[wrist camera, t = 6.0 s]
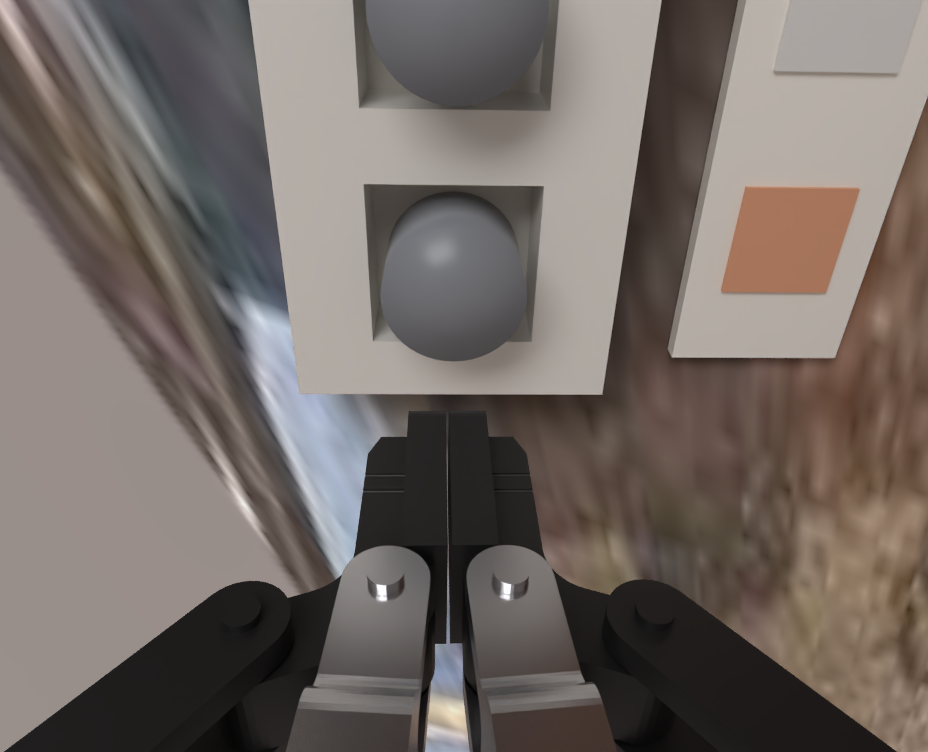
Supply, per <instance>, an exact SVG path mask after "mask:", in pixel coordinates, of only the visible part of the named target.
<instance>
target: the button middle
mask: <svg viewBox="0 0 928 752" xmlns="http://www.w3.org/2000/svg"><path fill="white" fill-rule="evenodd" d="M548 14H549V0H366V16H367V24H368V28H369V32H370V36H371V39H372V42H373V45H374V47H375V49H376V51H377V54H378V56H379V58H380V59H381V61H382V62H383V64H384V66H385V67H386V69H387V70H388V71H389V72H390V73H391V75H392V76H393V77H394V78H395V79H396V80H397V81H398V82H399V83H400V84H401V85H402V86H403V87H405V88H406V89H407V90H409V91H410V92H412V93H413V94H415V95H417V96H419V97H421V98H422V99H425V100H427V101H430V102H433V103H436V104H441V105H445V106H469V105H475V104H479V103H482V102H485V101H488V100H491V99H493V98H495V97H497V96H499V95H500V94H502V93H503V92H505V91H506V90H508V89H509V88H510V87H512V86H513V85H514V84H515V83H516V82H517V81H518V80H519V79H520V78H521V77H522V76H523V75H524V74H525V72H526V71H527V70H528V68H529V67H530V65H531V64H532V63H533V61H534V59H535V57H536V55H537V53H538V51H539V49H540V47H541V44H542V41H543V39H544V35H545V31H546V27H547V22H548Z"/></svg>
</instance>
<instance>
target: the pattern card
mask: <svg viewBox="0 0 928 752" xmlns="http://www.w3.org/2000/svg"><path fill="white" fill-rule="evenodd" d="M927 96H928V0H738V4H737V9H736V14H735V19H734V24H733V29H732V34H731V39H730V43H729V48H728V53H727V58H726V63H725V68H724V73H723V78H722V83H721V88H720V93H719V98H718V103H717V108H716V113H715V117H714V122H713V127H712V132H711V137H710V142H709V147H708V152H707V157H706V162H705V167H704V172H703V177H702V182H701V187H700V191H699V196H698V201H697V206H696V211H695V216H694V221H693V226H692V231H691V236H690V241H689V246H688V251H687V256H686V261H685V265H684V270H683V275H682V280H681V285H680V290H679V295H678V300H677V305H676V310H675V315H674V320H673V325H672V330H671V335H670V339H669V344H668V351H669V353H670V355H671V357H681V358H835V356H836V353H837V351H838V348H839V345H840V342H841V339H842V336H843V334H844V331H845V328H846V325H847V322H848V319H849V317H850V314H851V311H852V308H853V305H854V303H855V300H856V297H857V294H858V291H859V288H860V286H861V283H862V280H863V277H864V274H865V271H866V269H867V266H868V263H869V260H870V257H871V255H872V252H873V249H874V246H875V243H876V240H877V238H878V235H879V232H880V229H881V226H882V223H883V221H884V218H885V215H886V212H887V209H888V207H889V204H890V201H891V198H892V195H893V192H894V190H895V187H896V184H897V181H898V178H899V176H900V173H901V170H902V167H903V164H904V161H905V159H906V156H907V153H908V150H909V147H910V144H911V142H912V139H913V136H914V133H915V130H916V128H917V125H918V122H919V119H920V116H921V113H922V111H923V108H924V105H925V102H926V99H927Z"/></svg>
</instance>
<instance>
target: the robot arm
mask: <svg viewBox="0 0 928 752" xmlns="http://www.w3.org/2000/svg"><path fill="white" fill-rule="evenodd" d="M365 474H366V476H365V481H364V488H363V496H362V503H361V510H360V518H359V525H358V533H357V540H356V547H355V553H354V557H353V559H352V560H351V561H350V562H349V563H348V564H347V566H346V567H345V569H344V571H343V573H342V575H341V576H340V577H339V578H337V579H336V580H335V581H333V582H332V583H330V584H329V585H327V586H324V587H322V588H320V589H317V590H314V591H311V592H308V593H304V594H301V595H297V596H293V597H290V598H287V597H286V595H285V594H284V593H283V592H282V591H281V590H280V589H279V588H277V587H276V586H274V585H272V584H269V583H266V582H260V581H246V582H240V583H235V584H232V585H229V586H227V587H225V588H223V589H221V590H219V591H217V592H216V593H214V594H213V595H211V596H210V597H209V598H207V599H206V600H205V601H203V602H202V603H201V604H199V605H198V606H197V607H195V608H194V609H193V610H191V611H190V612H189V613H187V614H186V615H185V616H183V617H182V618H181V619H179V620H178V621H177V622H175V623H174V624H173V625H172V626H170V627H169V628H167V629H166V630H165V631H164V632H162V633H161V634H160V635H158V636H157V637H156V638H154V639H153V640H152V641H150V642H149V643H148V644H146V645H145V646H144V647H142V648H141V649H140V650H138V651H137V652H136V653H134V654H133V655H132V656H130V657H129V658H128V659H126V660H125V661H124V662H122V663H121V664H120V665H118V666H117V667H116V668H114V669H113V670H112V671H111V672H109V673H108V674H106V675H105V676H104V677H103V678H101V679H100V680H99V681H97V682H96V683H95V684H93V685H92V686H91V687H89V688H88V689H87V690H85V691H84V692H83V693H81V694H80V695H79V696H77V697H76V698H75V699H73V700H72V701H71V702H69V703H68V704H67V705H65V706H64V707H63V708H61V709H60V710H59V711H58V712H56V713H55V714H53V715H52V716H51V717H49V718H48V719H47V720H46V721H44V722H43V723H42V724H40V725H39V726H38V727H36V728H35V729H34V730H32V731H31V732H30V733H28V734H27V735H26V736H24V737H23V738H22V739H20V740H19V741H18V742H16V743H15V744H14V745H12V746H11V747H10V748H8V749H7V750H6V751H4V752H425V746H426V735H427V724H428V714H429V703H430V692H431V680H432V678H433V675H434V670H435V644H446V624H447V557H448V540H449V602H450V643H462V646H463V697H464V705H465V714H466V723H467V732H468V740H469V749H470V752H896V751H895V750H894V749H892V748H891V747H890V746H888V745H887V744H886V743H884V742H883V741H882V740H880V739H879V738H878V737H876V736H875V735H873V734H872V733H871V732H869V731H868V730H867V729H865V728H864V727H863V726H861V725H860V724H859V723H857V722H856V721H855V720H853V719H852V718H850V717H849V716H848V715H846V714H845V713H844V712H842V711H841V710H840V709H838V708H837V707H836V706H834V705H833V704H832V703H830V702H829V701H828V700H826V699H825V698H823V697H822V696H821V695H819V694H818V693H817V692H815V691H814V690H813V689H811V688H810V687H809V686H807V685H806V684H805V683H803V682H802V681H800V680H799V679H798V678H796V677H795V676H794V675H792V674H791V673H790V672H788V671H787V670H786V669H784V668H783V667H782V666H780V665H779V664H777V663H776V662H775V661H773V660H772V659H771V658H769V657H768V656H767V655H765V654H764V653H763V652H761V651H760V650H759V649H757V648H756V647H754V646H753V645H752V644H750V643H749V642H748V641H746V640H745V639H744V638H742V637H741V636H740V635H738V634H737V633H736V632H734V631H733V630H732V629H730V628H729V627H727V626H726V625H725V624H723V623H722V622H721V621H719V620H718V619H717V618H715V617H714V616H713V615H711V614H710V613H709V612H707V611H706V610H704V609H703V608H702V607H700V606H699V605H698V604H696V603H695V602H694V601H692V600H691V599H690V598H688V597H687V596H686V595H684V594H683V593H681V592H680V591H678V590H677V589H675V588H673V587H671V586H669V585H667V584H664V583H661V582H658V581H653V580H633V581H629V582H626V583H623V584H622V585H620V586H618V587H617V588H616V589H615V590H614V591H613V592H612V593H611V595H607V594H604V593H600V592H596V591H592V590H589V589H585V588H582V587H579V586H576V585H574V584H572V583H570V582H568V581H566V580H565V579H563V578H562V577H561V576H559V575H558V574H557V573H556V572H555V571H554V570H553V569H552V568H551V567H550V565H549V564H548V562H547V561H546V559H545V556H544V553H543V549H542V543H541V537H540V531H539V525H538V519H537V513H536V507H535V501H534V495H533V493H532V484H531V478H530V472H529V466H528V460H527V454H526V452H525V451H524V450H523V449H522V448H521V446H520V445H519V444H518V443H517V441H516V440H515V439H514V438H513V437H488V427H487V416H486V411H449V431H448V533H447V464H446V411H409V415H408V431H407V437H381V438H380V439H379V441H378V442H377V443H376V445H375V446H374V447H373V448H372V450H371V451H370V452H369V454H368V458H367V466H366V473H365Z"/></svg>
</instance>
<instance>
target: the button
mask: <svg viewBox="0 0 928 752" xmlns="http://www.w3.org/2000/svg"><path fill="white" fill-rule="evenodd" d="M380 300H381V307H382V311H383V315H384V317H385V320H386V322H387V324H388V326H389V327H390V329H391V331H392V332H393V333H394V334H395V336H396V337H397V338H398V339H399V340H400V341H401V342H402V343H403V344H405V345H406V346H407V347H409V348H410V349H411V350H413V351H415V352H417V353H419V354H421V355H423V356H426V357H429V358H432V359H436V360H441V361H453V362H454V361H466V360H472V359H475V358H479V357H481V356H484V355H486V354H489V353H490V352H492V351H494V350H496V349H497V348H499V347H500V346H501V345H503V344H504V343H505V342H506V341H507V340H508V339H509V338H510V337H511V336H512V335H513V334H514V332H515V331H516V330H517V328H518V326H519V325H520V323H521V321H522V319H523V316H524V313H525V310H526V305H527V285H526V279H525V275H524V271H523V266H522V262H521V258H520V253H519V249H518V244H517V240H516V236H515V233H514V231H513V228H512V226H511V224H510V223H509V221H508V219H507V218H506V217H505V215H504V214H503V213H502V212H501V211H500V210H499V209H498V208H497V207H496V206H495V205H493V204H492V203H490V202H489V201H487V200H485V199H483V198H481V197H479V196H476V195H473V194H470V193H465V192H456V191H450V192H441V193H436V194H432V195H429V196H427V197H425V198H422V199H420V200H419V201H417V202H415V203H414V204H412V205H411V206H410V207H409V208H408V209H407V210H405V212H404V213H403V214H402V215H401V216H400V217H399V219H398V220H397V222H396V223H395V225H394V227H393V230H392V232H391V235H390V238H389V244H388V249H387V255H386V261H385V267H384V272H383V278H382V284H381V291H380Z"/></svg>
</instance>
